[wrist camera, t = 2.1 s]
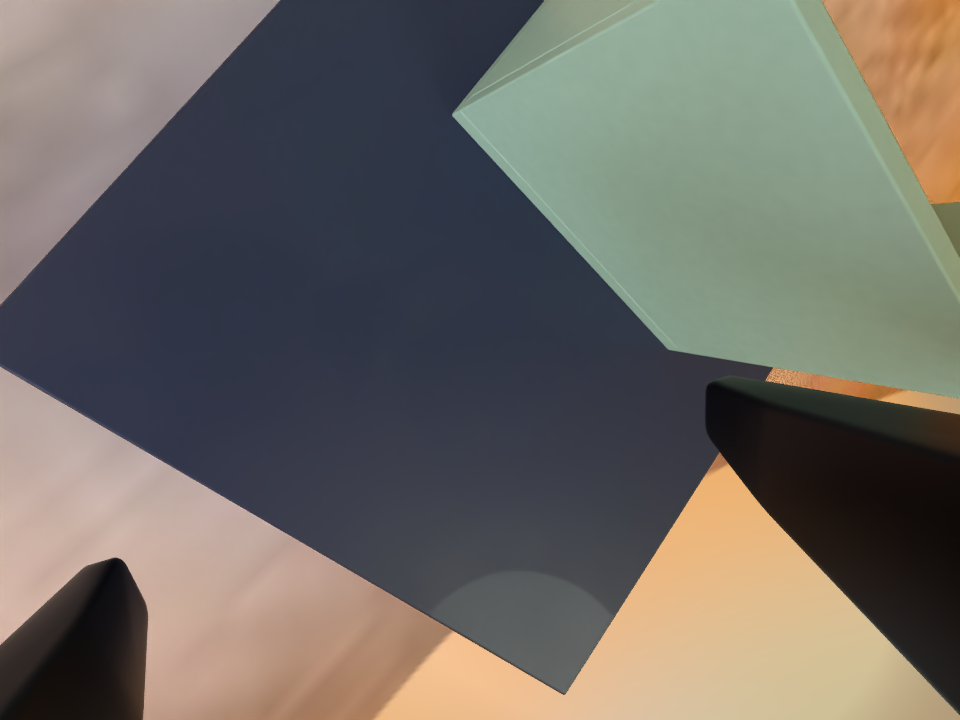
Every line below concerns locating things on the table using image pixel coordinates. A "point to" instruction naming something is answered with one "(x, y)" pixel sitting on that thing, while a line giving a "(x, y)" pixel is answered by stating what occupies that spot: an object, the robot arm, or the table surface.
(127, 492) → the table surface
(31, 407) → the table surface
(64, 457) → the table surface
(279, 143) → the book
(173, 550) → the table surface
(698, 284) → the green arch-shaped block
